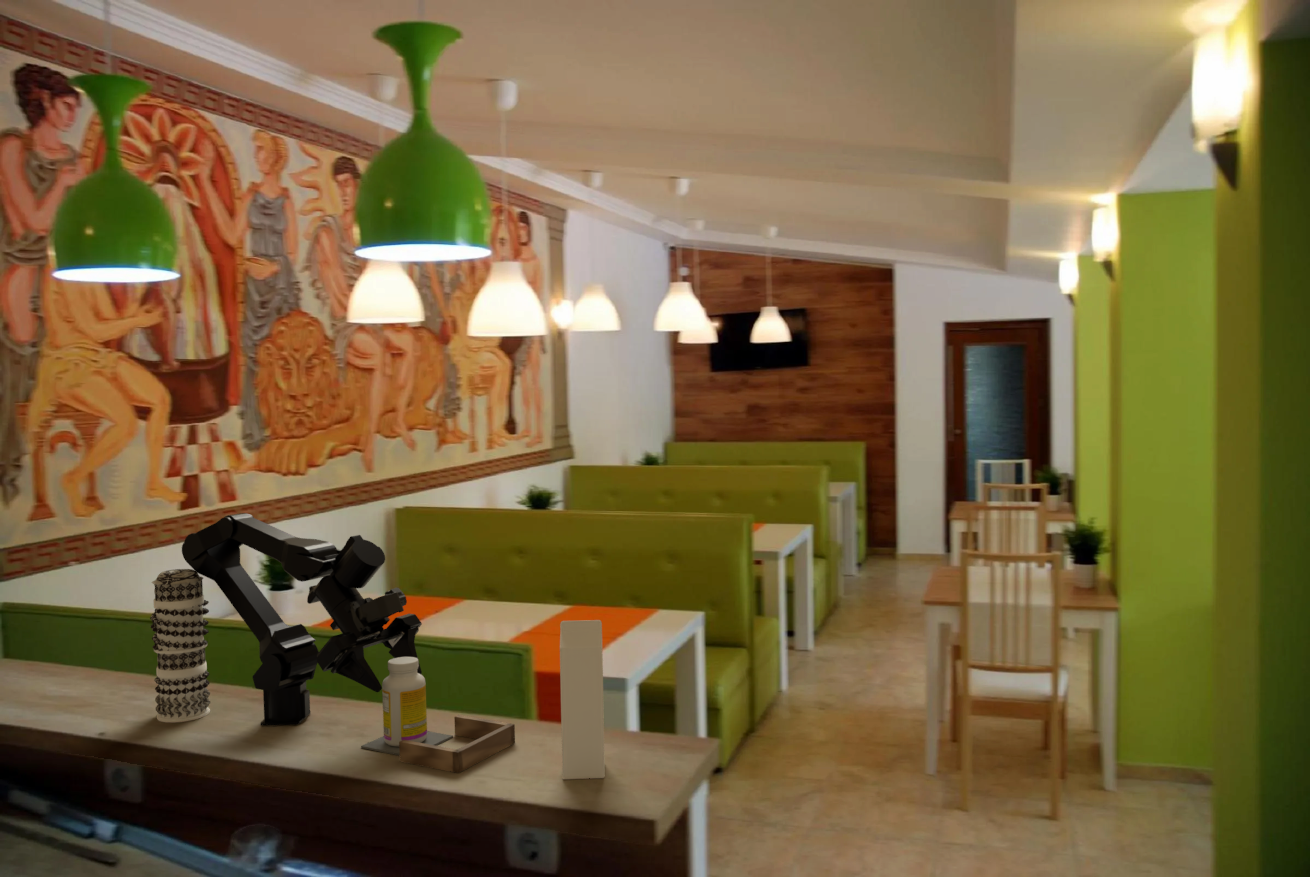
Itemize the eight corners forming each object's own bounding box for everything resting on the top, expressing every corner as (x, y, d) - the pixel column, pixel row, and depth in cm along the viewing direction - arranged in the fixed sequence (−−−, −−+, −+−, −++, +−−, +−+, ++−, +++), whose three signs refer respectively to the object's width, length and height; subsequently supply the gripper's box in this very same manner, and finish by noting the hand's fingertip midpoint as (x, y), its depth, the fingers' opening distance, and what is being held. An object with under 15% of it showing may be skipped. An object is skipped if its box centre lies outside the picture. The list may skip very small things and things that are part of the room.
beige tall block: (604, 778, 148) (602, 625, 147) (561, 780, 148) (559, 626, 146) (604, 763, 154) (602, 615, 153) (563, 764, 154) (560, 616, 152)
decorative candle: (222, 713, 181) (216, 570, 179) (167, 727, 174) (161, 578, 173) (199, 703, 187) (194, 564, 186) (145, 715, 180) (139, 572, 179)
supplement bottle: (434, 735, 166) (432, 656, 166) (414, 749, 160) (412, 667, 159) (397, 732, 168) (395, 653, 167) (375, 746, 162) (373, 664, 161)
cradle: (399, 761, 156) (399, 741, 156) (458, 733, 168) (458, 714, 168) (458, 773, 151) (458, 752, 151) (515, 743, 163) (514, 724, 163)
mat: (360, 748, 162) (360, 746, 162) (404, 728, 171) (404, 726, 171) (410, 757, 157) (410, 755, 157) (453, 737, 166) (452, 735, 166)
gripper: (328, 584, 157) (386, 666, 153) (411, 565, 174) (465, 638, 169) (292, 630, 162) (347, 711, 157) (376, 607, 178) (428, 679, 174)
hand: (400, 682), depth 164 cm, fingers open, 9 cm apart
